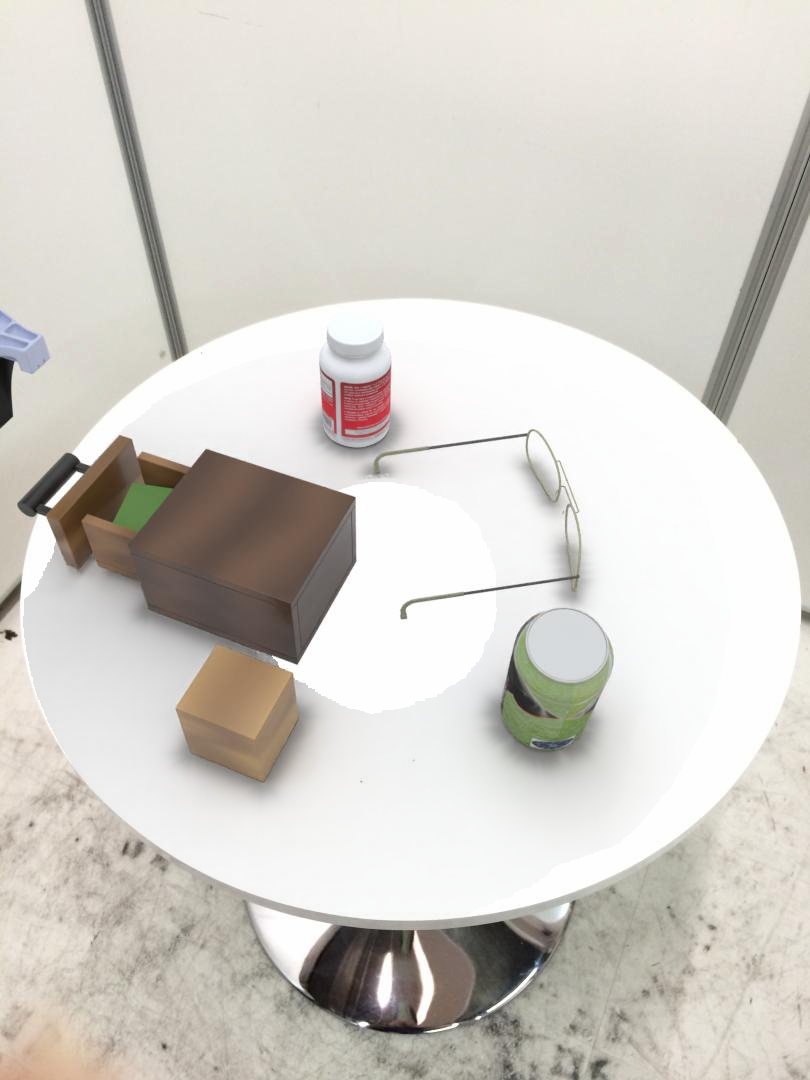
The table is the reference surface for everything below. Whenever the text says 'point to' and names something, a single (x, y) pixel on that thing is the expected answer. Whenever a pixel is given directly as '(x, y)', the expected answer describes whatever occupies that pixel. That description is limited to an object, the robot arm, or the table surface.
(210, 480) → the cabinet
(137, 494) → the matte green cuboid
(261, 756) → the wooden block
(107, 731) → the table surface
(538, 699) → the beverage can
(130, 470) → the drawer
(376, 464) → the eyeglasses
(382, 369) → the pill bottle
